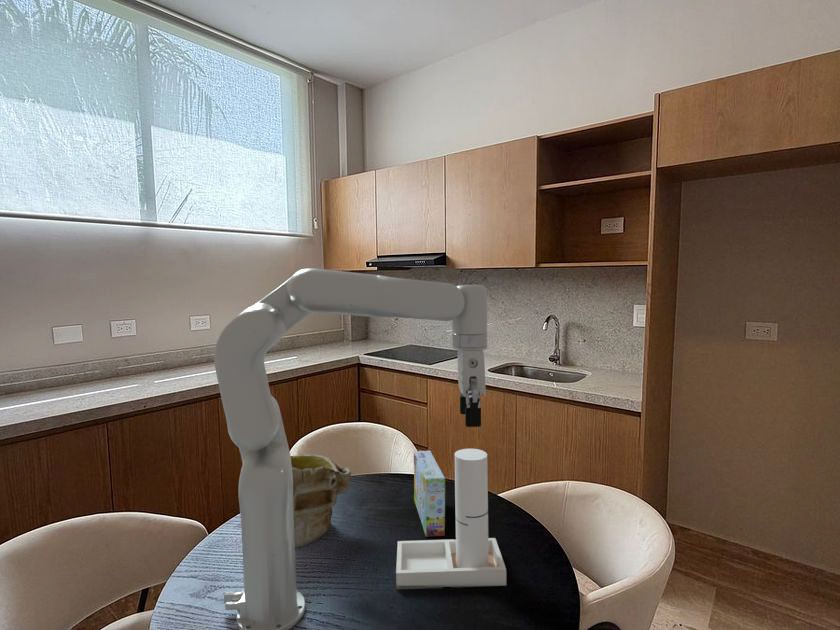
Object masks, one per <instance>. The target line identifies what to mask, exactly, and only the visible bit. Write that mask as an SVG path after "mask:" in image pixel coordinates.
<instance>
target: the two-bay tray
mask: <svg viewBox="0 0 840 630" xmlns="http://www.w3.org/2000/svg"><path fill="white" fill-rule="evenodd" d="M396 549H397V550H396V567H395V575H396V577H395V579H396V581H395V583H396V590H417V589H418V590H419V589H443V587H451V588H473V587H474V588H475V587H479V588H480V587H500V586H503V587H505V586H507V568H506V565H505V562H504V559H503V556H502V553H501V550H500V548H499V545H498V541H497V539H496V537H488V555H489V567H474V568H457V566H456V538H455V539H452V538H451V539H427V540H426V539H424V540H397V548H396Z"/></svg>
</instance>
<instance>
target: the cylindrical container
mask: <svg viewBox="0 0 840 630" xmlns="http://www.w3.org/2000/svg"><path fill="white" fill-rule="evenodd" d="M488 477H489V476H488V453H487V452H486V451H485V450H481V449H478V448H462V449H459V450H456V451H455V452H454V501H455V502H454V503H455V507H454V508H455V511H454V513H455V539H456V566H457V568H474V567H489V555H488V538H489V497H488V496H489V493H488V489H489V488H488V487H489V483H488V482H489V480H488Z"/></svg>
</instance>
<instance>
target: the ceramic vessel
mask: <svg viewBox="0 0 840 630" xmlns="http://www.w3.org/2000/svg"><path fill="white" fill-rule="evenodd" d="M290 456H291V464H292V473H293V512H294V535H295V549H298V548H301V547H304V546H308V545H309V544H310V543H312V542H314V541H317V540H318V539H320V538H321V537H323V536H324V535H325V534H326V533H327V532H328V531H329V529H330V527H331V525H332V515H333V507H334V506H335V505H336V504H337V499H338V497H337V496H339V495H342V494H346V493H347V492H348V491H349V489H350V487H351V477H352V476H351V475H352V472H351V470H350V467H346V466H345V467H344V466H342V467H341V466H339V465H337V464H336V463H335V461H333V460H332V459H331V458H330V457H328V456H326V455H321V454H314V453H310V454H297V455H290Z"/></svg>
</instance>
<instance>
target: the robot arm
mask: <svg viewBox="0 0 840 630" xmlns="http://www.w3.org/2000/svg"><path fill="white" fill-rule="evenodd" d="M312 313H317V314H319V313H320V314H332V315H333V314H334V315H346V316H356V317H357V316H358V317H370V318H403V319H413V320H414V319H415V320H416V319H417V320H427V321H428V320H429V321H439V322H449V321H451V325H452V327H451V328H452V329H451V330H452V332H451V333H452V334H451V335H452V336H451V337H452V338H451V339H452V340H451V341H452V343H451V345H452V347H451V348H452V350H457V381H458V389H459V391H460V396H459V413H460V415H465V417H464V420H465V421H464V423H465V426H466V427H467V428H480V427H481V426H482V407H481V406H482V405H481V397H485V396H486V394H487V390H486V368H485V366H486V365H485V355H484V351H485V350H487V349H488V291H487V288H486V286H484V285H482V284H459V285H454V284H452V283H450V282H449V283H448V282H441V281H439V282H438V281H431V280H420V279H412V278H400V277H392V276H387V275H381V274H372V273H360V272H352V271H351V272H350V271H344V270H343V271H341V270H333V269H324V268H313V267H312V268H302V269H300V270H298V271H296V272H295V273H294V274H292V276H291V277H290V278H288V279H287V280H286V281H284V282H283V283H282V284H281V285H280V286H278V287H276V289H274V290H273V291H271V292H270V293H268V294H266V296H265V297H262V298H261V299H260V300H259V301H257V302H256V303H255V304H253V305H251V306H249V307H247V308H245V309H244V310H243V311H241V312H240V313H239V314H238V315H236V316H235V317H234V318H233V319H232V320H231V321H229V322H228V324H227V325H226V326H225V327H224V328H223V330H222V331H221V332H220V334H219V336H218V339H217V341H216V344H215V347H214V356H213V357H214V360H213V362H214V368H215V374H216V377H217V383H218V388H219V392H220V398H221V402H222V406H223V411H224V416H225V420H226V424H227V425H226V427H227V432H228V435H229V437H230V439H231V441H232V442H233V444H235V445H236V447H237V448H239V453H240V457H241V461H242V465H241V466H242V467H241V469H240V474H239V479H238V503H239V505H238V506H239V513H240V527H241V529H240V530H241V543H242V544H241V545H242V567H243V569H242V570H243V589H241V591H236V590H235V591H226V592H225V593H224V596H223V602H224V604H225V605H224V606H225V611H233V610H237V614H236V625H237V626H236V627H237V629H238V630H290V629H291V628H292V627H294V626H295V625H296V624H297V623H298V622H299V621H300V620H301V619H302V617H303V616H304V614H305V610H306V600H305V597H304V595H303V594H302V593H301V592H300V591H299V590H297V568H296V567H297V565H296V548H295V535H294V512H293V473H292V464H291V456H292V455H291V452H290V448H289V443H288V439H287V435H286V432H285V427H284V422H283V418H282V414H281V410H280V409H281V408H280V406H279V403H278V401H277V400H276V398H275V397H274V396H273V395H272V394H271V389H270V385H269V379H268V378H269V377H268V373H267V371H266V365H265V357H266V354H267V352H268V351H269V350H270V349H272V348H273V347H275V346H276V345H277V344H278V343H279V342H280V341H281V340H282V338H283V336H284V335H285V334H286V333H287V332H289V331H290V330H291V329H292V328H294V327H295V326H296V325H298V324H299V323H300V322H302V321H303V320H304V319H306V318H307V317H308V316H309V315H310V314H312ZM480 396H481V397H480ZM466 427H465V428H466Z"/></svg>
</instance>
